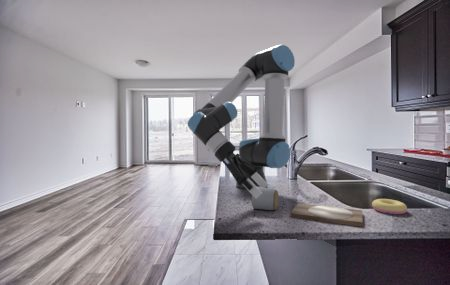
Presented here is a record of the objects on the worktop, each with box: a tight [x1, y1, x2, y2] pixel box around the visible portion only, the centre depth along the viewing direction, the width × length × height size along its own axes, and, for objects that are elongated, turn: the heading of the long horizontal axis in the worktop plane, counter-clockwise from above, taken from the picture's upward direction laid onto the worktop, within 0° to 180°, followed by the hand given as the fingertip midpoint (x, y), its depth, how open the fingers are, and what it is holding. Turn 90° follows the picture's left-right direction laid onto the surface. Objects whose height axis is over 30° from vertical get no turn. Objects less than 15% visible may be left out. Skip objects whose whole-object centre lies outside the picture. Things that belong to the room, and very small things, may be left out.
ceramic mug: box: [251, 186, 279, 211], centre depth 90 cm, size 11×8×8 cm
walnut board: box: [289, 203, 364, 228], centre depth 81 cm, size 13×20×1 cm, turn 63°
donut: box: [371, 198, 408, 216], centre depth 85 cm, size 10×5×9 cm
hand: (262, 191), depth 88 cm, fingers open, 13 cm apart
